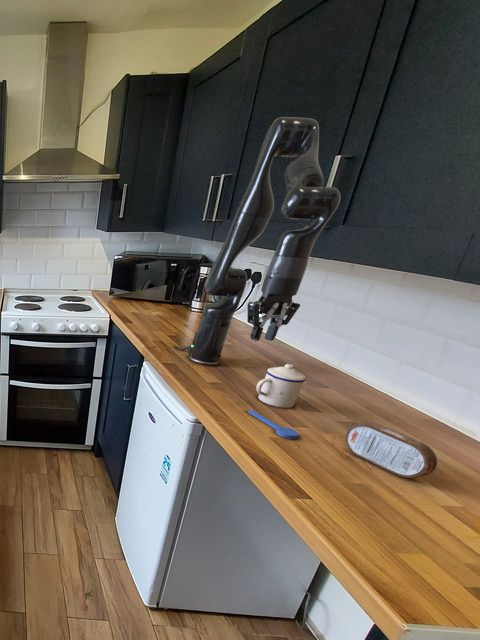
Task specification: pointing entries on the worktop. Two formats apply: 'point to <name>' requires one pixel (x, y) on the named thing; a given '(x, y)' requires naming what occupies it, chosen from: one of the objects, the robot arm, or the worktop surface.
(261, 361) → the worktop surface
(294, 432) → the spoon
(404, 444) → the tin
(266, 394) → the teacup with lid
